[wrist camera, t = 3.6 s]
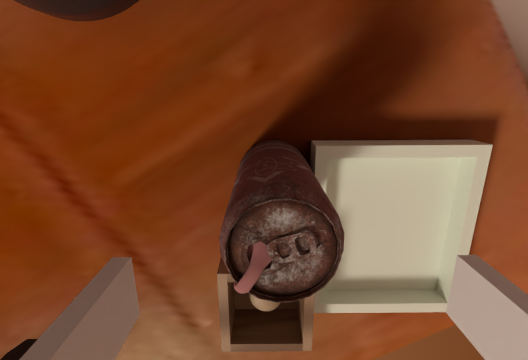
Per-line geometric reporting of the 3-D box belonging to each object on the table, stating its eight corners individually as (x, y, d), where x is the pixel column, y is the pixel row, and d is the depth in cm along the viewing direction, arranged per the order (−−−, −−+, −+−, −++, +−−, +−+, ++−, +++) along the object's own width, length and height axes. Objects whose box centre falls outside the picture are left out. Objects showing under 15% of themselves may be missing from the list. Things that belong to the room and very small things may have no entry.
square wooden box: (224, 243, 29) (217, 273, 24) (306, 242, 29) (315, 273, 24) (228, 311, 31) (221, 351, 27) (304, 311, 31) (311, 350, 27)
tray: (311, 140, 26) (316, 145, 24) (470, 139, 26) (492, 144, 24) (304, 294, 31) (308, 313, 28) (440, 293, 31) (456, 311, 28)
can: (224, 182, 27) (188, 274, 14) (264, 125, 26) (266, 165, 12) (279, 217, 28) (293, 333, 15) (320, 164, 27) (377, 239, 13)
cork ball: (249, 268, 29) (247, 289, 26) (282, 267, 29) (284, 289, 26) (250, 295, 30) (248, 319, 27) (281, 295, 30) (284, 319, 27)
